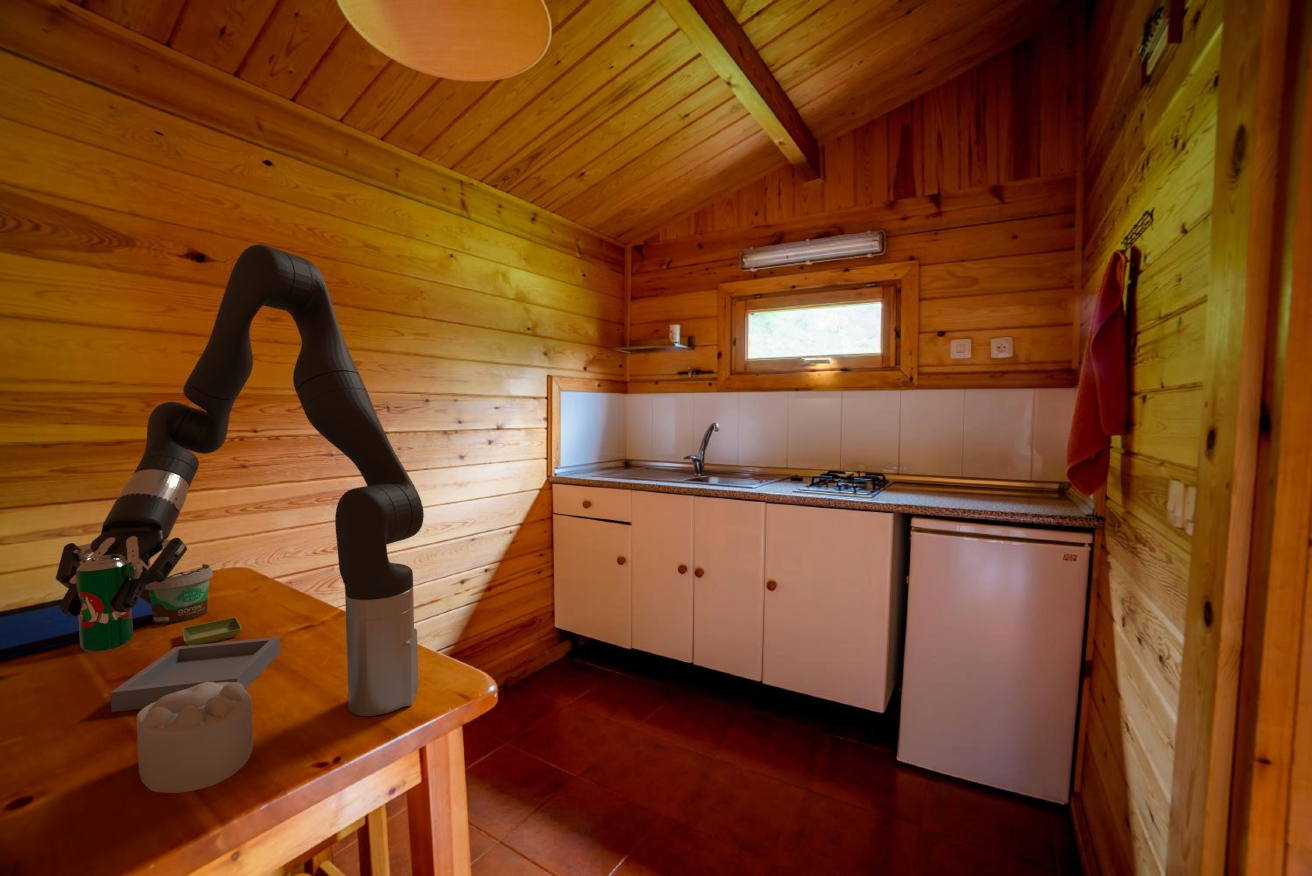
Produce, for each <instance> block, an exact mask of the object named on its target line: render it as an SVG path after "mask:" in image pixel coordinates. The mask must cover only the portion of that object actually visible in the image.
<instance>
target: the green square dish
mask: <svg viewBox="0 0 1312 876" xmlns="http://www.w3.org/2000/svg"><path fill="white" fill-rule="evenodd" d="M242 629H243V627H242V625H241V623H240V622H239V620H238V617H236V616H235V617H229V618H225V619H219V620H214V621H210V622H204V623H200V624H194V625H191V626H185V627H182V628H181V630H180V631H181V633H182V638H183V642H184V643H185V644H186V645H187V646H190V645H201V644H211V643H216V642H218V641H223V640H227V639H232V638H236V637H237V635H239V634H240V632H241V631H242Z"/></svg>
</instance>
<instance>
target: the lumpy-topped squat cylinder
mask: <svg viewBox="0 0 1312 876" xmlns="http://www.w3.org/2000/svg"><path fill="white" fill-rule="evenodd" d="M252 709H253V708H252V698H251V695H250V694H249V692H248V691H247V690H246V689H244V687H243V685H242V684H241V683H238V682H232V683H230V682H220V683H214V682H204V683H201V684H199V685H196V686H193V687H191V688H188V689H185V690H181V691H177V692H174V693H171V694H168V695H165V696H163V697H162V698H160V699H159V700H158V701H156V702H154V703H151V704H149V705H148V706H146V707H144V708H143V709H140V711H138V713H137V715H136V733H137V735H136V736H137V757H138V772H139V777H140V780H141V782H142V783H143V785H144V786H145V787H146V788H148V789H149V790H150V791H151V792H155V793H156V792H157V793H165V794H166V793H169V794H170V793H172V794H173V793H174V794H176V793H178V794H179V793H186V792H192V791H197V790H202V789H205V788H209V787H211V786H215V785H217V784H219V783H221V782H224V781H225V780H227V779H229V778H230V777H232V776H234V774H236V773H237V772H238V771H240V770H241V768H243V767H244V765H246V763H247V762H248V761H249V759H250V757H251V756H252V752H253V750H254V743H253V742H254V740H253V738H254V737H253V713H252Z"/></svg>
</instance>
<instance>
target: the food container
mask: <svg viewBox="0 0 1312 876" xmlns="http://www.w3.org/2000/svg"><path fill="white" fill-rule="evenodd" d="M212 570H213V569H212V567H210V564H205V563H202V565H201V567H200V568H198V569H194V570H189V571H184V572H178V573H174V574H172V575H168V576H167V578H166V579H165V580H164V581H163V582H156V581H155V582H152V583H149V584H148V585H147V586H146V587H144V590H145V591H146V590H147V591H148V595H149V601H150V607H151V613H152V617H153V624H154V625H155V626H161V625H162V626H164V625H175V624H179V623H184V622H185V623H186V622H189V621H191V620H196V619H198V618H200V617H203V616H205V615H206V614H207V612H208V602H209V586H210V579H212V577H213V576H214V573H213V572H214V571H212Z"/></svg>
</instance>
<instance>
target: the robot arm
mask: <svg viewBox="0 0 1312 876" xmlns="http://www.w3.org/2000/svg"><path fill="white" fill-rule="evenodd" d="M324 278H325V277H324V276H323V274H322V272H321V271H320V269H319V268H318V267H317V266H316V264H314V263H313V262H311V261H310V260H308V259H306V258H304V257H301V256H298V255H295V254H292V253H289V252H285V251H284V250H280V249H278V248H275V247H273V246H268V245H264V244H253V245H251V246H249V247H246V249H244V250H243V251H242V252H241V254H240V255H239V257H238V258H237V259H236V261H235V263H234V266H233V267H232V270H231V273H230V274H229V278H228V281H227V284H226V287H225V290H224V293H223V296H222V299H221V302H220V305H219V309H218V311H217V314H216V318H215V320H214V321H215V322H214V324H213V328H212V331H211V333H210V336H209V340H208V341H207V344H206V346H205V348H204V350H203V352H202V354H201V356H200V358H199V359H198V360H197V362H196V364H195V366H194V368H193V370H192V371H191V373H190V374H189V376H188V377H187V380H186V382H184V386H183V388H182V392H183V395H184V396H185V398H186V399H187V400H189V401H190V402H191V403H193V405H196V406H198V407H199V408H201V409H198V408H195V407H193V406H190V405H187V404H185V403H181V402H177V401H167V402H163V403H161V404H159V405H157V406H156V407H154V409H153V410H152V411H151V413H150V415H149V417H148V419H147V426H146V442H145V443H146V444H145V449H144V453H143V456H142V458H141V459H140V462H139V463H138V465H137V467H136V468H135V471H134V472H133V474H132V475H131V477H130V479H128V481H126V483H125V485H124V486H123V487H122V489H121V490H120V493H119V495H118V497H117V498H116V499H115V501H114V502H113V505H112V507H111V509H110V510H109V513H107V516H106V517H105V519H104V521H103V524H102V527H101V532H100V534H99V535H98V536H97V537H96V538H94V539H93V540H92V541H91V543H86V544H82V545H81V544H80V545H76V543H74V542H70V543H66V544H65V545H64V546H63V549H62V552H61V556H60V561H59V565H58V568H57V572H56V575H55V580H56V581H58V582H59V583H60V584H61V585H63V587H66V589H67V591H66V593H65V595H64V596H63V597H62V600H61V601H60V602H59V603H60V604H59V609H60V611H61V613H63V614H64V615H65V616H67V617H68V618H69V617H72V618H73V617H77V616H78V600H77V583H76V569H77V568H78V567H79V565H80V563H79V562H80V561H82V560H84V559H88V558H92V557H97V556H104V555H116V554H119V555H125V559H126V560H127V561H128V562H129V568H130V581H126V583H125V584H124V586H123V588H122V590H121V592H120V594H119V596H118V598H117V600H116V602H115V608H116V609H117V610H118V611H119V612H121V613H122V612H129V611H130V609H131V608H132V609H133V608H135V606H136V605H137V604H138V601H139V600H140V597H141V595H142V593H143V592H144V590H145V587H146V586H147V585H148V584H149V583H152V582H155V581H156V582H163V581H164V580H165V579H166V578H167V577H169V576H170V574H171V572H172V571H173V570H174V569H175V567H176V565H178V563H179V562H180V561H181V559H182V557H184V554H185V553H186V552H187V551H188V546H187V544H185V543H184V541H182V539H181V538H180V537H173V538H171V539H168V538H169V537H170V535H171V533H172V531H173V528H174V526H175V524H176V523H177V520H178V517H179V515H180V513H181V511H182V509H183V507H184V505H185V501H186V499H187V496H188V491H189V488H190V486H191V485H192V483H193V480H194V478H195V476H196V473H198V470H199V467H200V461H199V458H198V457H197V456H196V455H195V454H194V453H197V454H201V455H202V454H203V455H206V454H211V453H214V452H216V451H218V450H219V449H220V448H221V447H222V446H223V444H224V443H225V441H226V439H227V436H228V429H229V423H230V416H231V412H232V409H233V407H234V404H235V402H236V400H237V398H238V397H239V395H240V393H241V391H242V390H243V388H244V387H245V385H246V383H247V382H248V380H249V378H250V376H251V374H252V371H253V366H254V356H253V349H252V345H251V338H250V336H251V335H250V334H251V333H250V331H251V325H252V322H253V319H254V318H255V316H256V315H257V314H258V312H259V311H260V310H261V308H263V307H268V308H272V309H276V310H281V311H286V312H287V313H288V314H289V315H290V316H291V317H292V318H293V321H294V322H295V325H296V327H297V329H298V333H299V336H300V338H301V347H300V351H299V353H298V355H297V359H296V362H295V366H294V369H293V373H292V374H293V375H292V380H293V381H292V383H293V387H294V389H295V393H296V395H297V397H298V400H299V403H300V405H301V407H302V409H303V410H302V411H304V414H305V415H306V419H307V420H308V422H309V423H310V425H312V427H313V428H314V429H315V430H316V431H317V432H318V433H319V434H320V435H321V436H322V437H324V438H325V439H326V440H327V441H328V442H329V443H330V444H331V445H333V447H336V449H338V450H339V451H340V452H341V453H342V454H344V455H345V456H346V457H347V458H348V459H349V460H350V461H351V462H352V463H353V464H354V466H356V468H357V469H358V471H359V473H360V474H361V476H362V478H363V480H364V482H365V484H366V486H360V487H359V486H358V487H354V488H351V489H349V490H347V491H346V492H344V493H343V494H342V495H341V497H340V498H339V500H338V502H337V504H336V505H337V506H336V511H335V515H334V516H335V519H334V522H335V523H334V525H335V537H336V538H335V539H336V549H337V558H338V569H339V574H340V576H341V579H342V581H343V585H344V593H345V598H344V599H345V600H344V601H345V628H346V629H345V634H346V635H345V636H346V637H345V638H346V639H345V640H346V665H347V666H346V667H347V668H346V669H347V671H346V672H347V701H348V711H349V712H351V714H353V715H356V716H362V717H373V716H379V715H380V716H381V715H384V714H385V715H386V714H388V713H391V712H394V711H397V710H399V709H402V708H404V707H411V706H412V705H413V703H414V701H415V697H416V694H417V692H418V689H419V662H418V661H419V660H418V658H419V655H418V652H419V651H418V650H419V649H418V630H417V628H415V610H414V607H415V606H414V601H415V600H414V571H413V569H412V568H411V567H410V566H409V565H407V564H403V563H395V562H390V560H389V556H388V548H387V547H388V546H387V545H389V544H390V545H391V544H394V543H398V542H400V541H403V540H407V539H410V538H412V537H414V536H416V535H417V534H418V533H419V532H420V531H421V529H422V526H423V523H424V517H425V516H424V515H425V514H424V512H425V511H424V507H423V503H422V500H421V497H420V495H419V492H418V490H417V489H416V486H415V485H414V483H413V481H412V479H411V478H410V476H409V474H408V472H407V470H406V469H405V467H404V466H403V464H402V462H401V460H400V459H399V456H398V455H397V454H396V451H395V449H394V448H393V446H392V445H391V442H390V440H389V437H388V436H387V434H386V432H385V430H384V427H383V426H382V423H381V421H380V419H379V417H378V415H377V412H376V409H375V407H374V406H373V403H372V401H371V398H370V395H369V393H368V390H367V388H366V386H365V383H364V381H363V379H362V376H361V374H360V372H359V370H358V369H357V367H356V364H355V362H354V360H353V357H352V355H351V352H350V350H349V347H348V345H347V342H346V341H345V338H344V335H343V333H342V330H341V328H340V326H339V322H338V320H337V316H336V313H335V309H334V306H333V303H332V299H331V296H330V292H329V289H328V286H327V284H326V281H325V279H324ZM160 552H161V553H160ZM159 553H160V554H159ZM90 554H91V555H90ZM89 555H90V556H89ZM156 555H158V556H157V557H156V559H155V560H154V561H153V563H152V564H151V559H152V558H153V557H155V556H156ZM417 688H418V689H417Z"/></svg>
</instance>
